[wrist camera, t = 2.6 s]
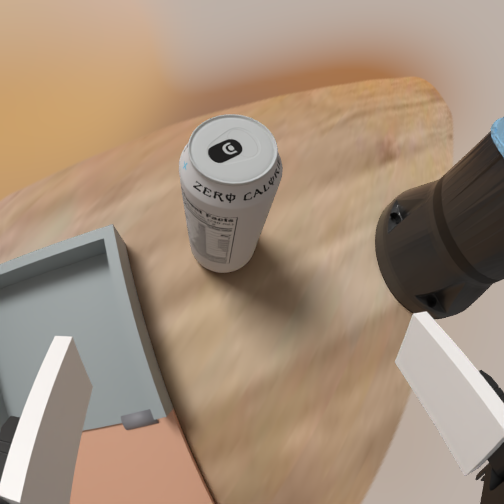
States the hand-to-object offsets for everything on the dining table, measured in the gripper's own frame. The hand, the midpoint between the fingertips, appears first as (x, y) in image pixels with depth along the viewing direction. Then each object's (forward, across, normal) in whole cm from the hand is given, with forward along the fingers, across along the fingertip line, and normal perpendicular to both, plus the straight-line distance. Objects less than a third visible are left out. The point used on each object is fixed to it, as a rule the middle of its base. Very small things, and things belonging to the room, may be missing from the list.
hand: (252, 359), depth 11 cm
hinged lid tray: (+9, -14, -15) cm, 23 cm away
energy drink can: (+20, 0, -4) cm, 20 cm away
